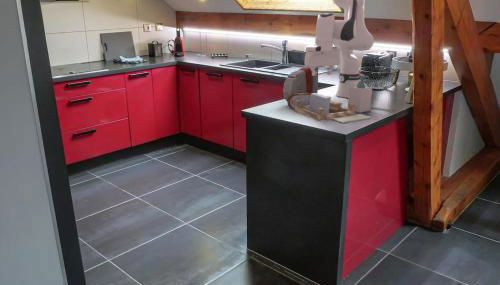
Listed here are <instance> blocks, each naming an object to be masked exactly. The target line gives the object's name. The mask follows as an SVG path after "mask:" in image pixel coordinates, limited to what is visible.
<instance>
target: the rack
mask: <svg viewBox="0 0 500 285" xmlns="http://www.w3.org/2000/svg"><path fill="white" fill-rule="evenodd" d="M327 97H330V101H332V100H331V99H332V97H331V96H330V95H327ZM300 102H301V101H300V100H295V109H294V112H295V113H299V114H302V115H303V116H306V117H309V118H312V119H315V120H316V121H319V122H322V121H321V120H323V121H327V120H333V118H339V117H346V116H352V115H355V111H354V109H355V104H349V109H347V108H346V107H343V106H341V109H343V112H338V113H331V114H330V113H329V114H324V115H323V110H324V109H323V108H318V113H317V114H316V113H314V112H311V111H310V105H306V106H300Z"/></svg>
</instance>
